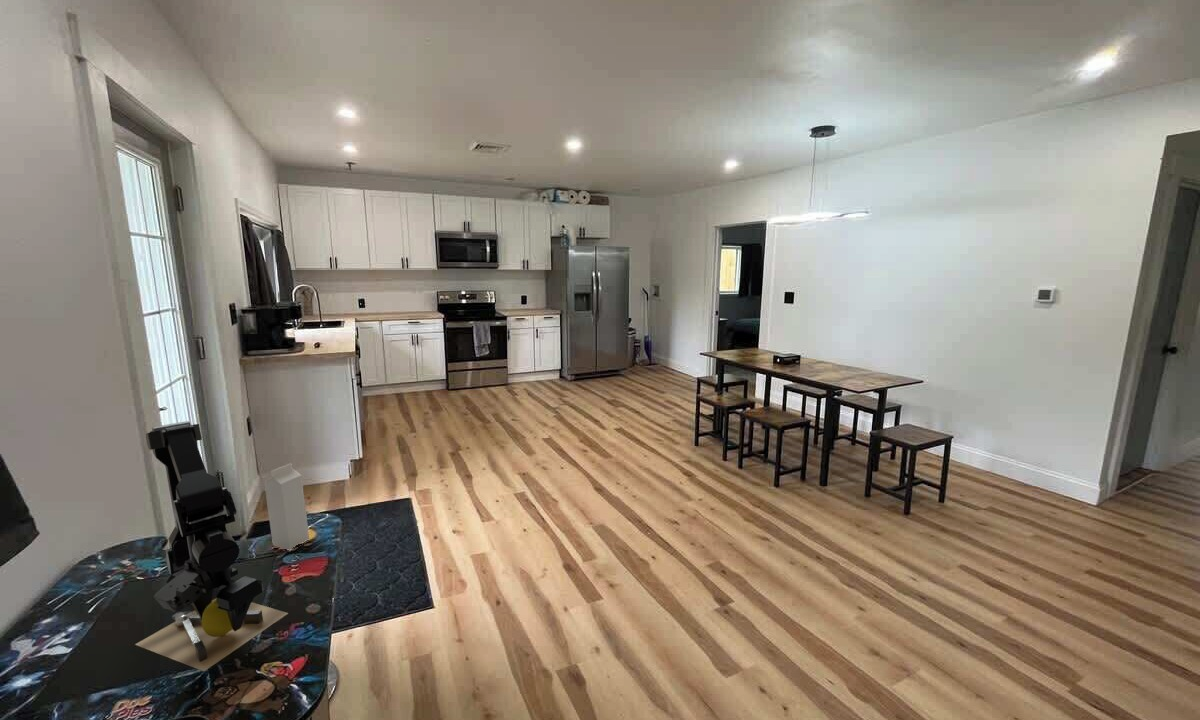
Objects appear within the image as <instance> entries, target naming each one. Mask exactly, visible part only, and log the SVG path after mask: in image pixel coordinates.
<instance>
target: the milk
mask: <svg viewBox="0 0 1200 720" xmlns="http://www.w3.org/2000/svg"><path fill="white" fill-rule="evenodd" d="M270 475H271V476H270V477H269V478H267V479H265V480H264V481H263V482H264V489H265V498H266V504H267V511H268V512H267V513H268V520H269V527H270V534H271V540H272V541H271V542H272V546H273V545H274V546H277V547H280V548H284V549H289V550H290V549H292V548H293V547H295V546H296V545H298V544H300V543H302V542H304V541H305V540H307V539H309V540H310V533H309V525H308V524H309V523H308V517H307V509H306V502H305V494H304V486H303V478H302V477H303V476H302V474H301V473H299V472H298V471H297V470H296V469H294V468H293V463H291V462H290V463H288V464H285V465H282V466H279V467H277V468H274V469H272V470H271V471H270Z"/></svg>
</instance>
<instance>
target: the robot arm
mask: <svg viewBox="0 0 1200 720" xmlns="http://www.w3.org/2000/svg"><path fill="white" fill-rule="evenodd" d="M200 427H201V426H200V424H199V423H196V424H195V423H194V424H191V422H190V420H186V421H180V422H175V423H174V422H173V423H168V424H163V425H157V426H152V427H151V429H152V431H149V432H146V433H145V440H146V445H147V448H148V450H149V451H152V454H153V455H154V457H155V458H156V459H157V461H159V462H160V463H161V464H162V465H164V466H165V472H166V478H167V483H168V489H169V490H168V491H169V495H170V501H171V506H172V507H171V509H172V514H173V519H174V524H175V526H174V528H173V529H172V532H171V533H170V535H169V536H168V546H169V547H168V548H166V550H165V560H166V565H167V569H168V572H169V574H170V576H169V577H168V579H167V581H166V584H165V585H164V586H163V587H161V588H160V589H158V590H157V592H155V593H154V595H153V597H154V599H155V601H157V603H159V605H160V606H161V607H162V608H163V610H168V611H171V612H173V613H178V612H182V611H183V610H184V609H185V608H186V607H187V606H192V607H193V609H194V611H196V612H197V614H198V615H199V617H200V618H201V620H202V615H203V612H204V610H205V608H206V607H207V606H208V605H209V604H210V603H211V602H212V600H213V595H214V594H213V593H214V591H217V592H218V593H217V595H216V597H215V599H216V601H217V603H218V605H219V607H217V608H218V609H221V610H224V611H227V614H228V617H229V620H230V623H231V626H232V628H233V631H237V630H239V629H240V628H241V626H242V623H243V621H244V619H245V616H246V614H247V611H248V609H249V607H250V605H251V603H252V602H253V600H254V599H255V597H258V595H260V594H262V593H263V592H264V590H265V589H264V584H263V581H262V580H261V579H256V578H253V577H249V576H245V575H244V576H242V577H240V578H239V579H237V580H233V579H232V578H233V577H236V576H237V575H239V572H238V568H235V567H232V565H233V564H235V562H236V561H237V559H238V558H239V555H240V547H239V545H238V543H237V542H236V541H235V539H234V538H233V537H232V535H231V534H230V533H229V531H228V530H227V527H226V525H228V524H231V523H234V522H236V518H235V515H237V508H236V505H235V503H234V499H233V496H232V492H230V491H229V489H228V488H227V487H225V486H224V487H223V486H222V485H221V482H220V480H219V478H218V477H217V476H215V475H213V474H211V473H208V471H207V469H206V467H205V463H204V461H203V458H202V456H201V453H200V449H199V446H198V441H202V440H203V438H202V432H201V428H200ZM224 511H226V513H224ZM222 513H223V514H222ZM219 514H220V515H219ZM216 515H218V516H216Z"/></svg>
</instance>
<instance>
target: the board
mask: <svg viewBox="0 0 1200 720" xmlns="http://www.w3.org/2000/svg"><path fill="white" fill-rule="evenodd" d="M215 600H216V598H214V599H212V602H213V601H215ZM251 610H262V616H263V621H262V622H261V623H260V624H242V626H241V628H240V629H239V630H237V631H233V629H232V630H231V631H230V632H228V633H227V634H226V635H225V636H223V637H221V636H219V637H213V636H209V635H208V634H206V633H205V631H204V630H203V627H202V625H192V626H193V628H194V630H195V632H196V634H197V635H198V637H199V639H200V641H201V640H202V642H203V644H204V646H205V648H206V653H207V659H205V660H203V661H201V662H200V661H199V659H198V657H197V655H196V653H195V651H194V648H193V646H192V644H191V642H190V640H189V638H188V636H187V634H186V632H185V630H184V628H183V627H182V628H178V627H177V626H176V620H174V621H173V622H172V623H170V624H169V625H166V626H165V627H163V628H162V629H161V628H160V630H158V631H156V632H155V633H153V634H151V635H149V636H148V637H146V638H144V639H142V640H140V641H139V642H137V643H135V644H134V645H135V646H137V647H140V648H142V649H144V650H147V651H151V652H152V653H156V654H158V655H161V656H163V657H165V658H169V659H170V660H173V661H176V662H178V663H181V664H184V665H186V666H189V667H192V668H194V669H196V670H199V671H202V672H205V671H207V670H208V669H210V668H211V667H213V666H214V665H215V664H217V663H219V662H220V661H222V660H224V658H226V657H227V656H229V655H230V654H231V653H233V652H234V651H236V650H237V649H239V648H241V647H242V646H243V645H245V644H246V643H248V642H249V641H251V640H252V639H254V638H255V637H256V636H257V635H259V634H260V633H262V632H264V631H265V630H267V629H268V628H269V627H272V625H274V624H275V623H277V622H278V621H280V620H281V619H283V618H284V617H285V616H287V615H289V613H288V612H285V611H282V610H279V609H276V608H272V607H269V606H266V605H262V604H259V603H256V602H253V601H252V603H251V605H250V607H249V609H248V611H251ZM191 612H192V615H198V614H197V612H196V611H195V610H193V611H191Z"/></svg>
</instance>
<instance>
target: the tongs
mask: <svg viewBox="0 0 1200 720" xmlns="http://www.w3.org/2000/svg"><path fill="white" fill-rule="evenodd" d="M192 612H193V611H191V610H187V611H186V610H185V611H183V612H182V611H179V612H175V613H174V614H173V615H171V618H172V620H173V621H176V626H177V627H178V628H182V627H183V628H184V630H185V632H186V634H187V636H188V638H189V640H190V642H191V644H192V646H193V648H194V651H195V653H196V655H197V657H198V659H199V661H200V662H201V661H203V660H205V659H207V653H206V648H205V646H204V644H203V642H202V640H201V641H200V639H199V637H198V635H197V634H196V632H195V630H194V628H193V626H192V625H202V620H201V618H200V617H199V615H192ZM262 621H263V616H262V610H251V611H247V614H246V616H245V619H244V621H243V623H242V624H260V623H261V622H262Z"/></svg>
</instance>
